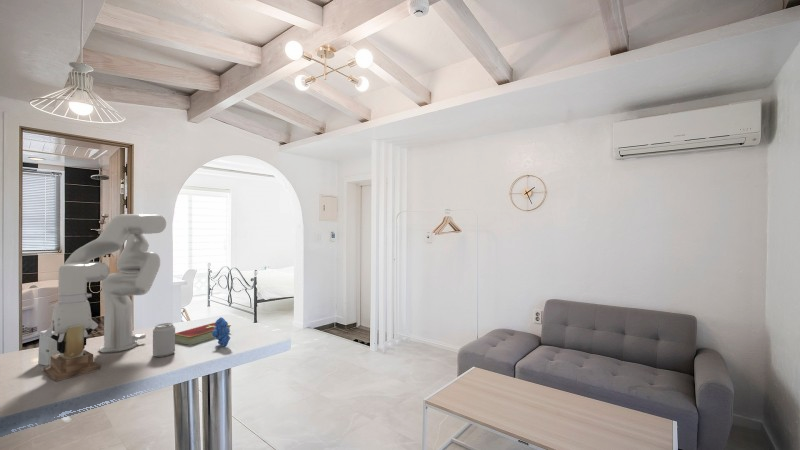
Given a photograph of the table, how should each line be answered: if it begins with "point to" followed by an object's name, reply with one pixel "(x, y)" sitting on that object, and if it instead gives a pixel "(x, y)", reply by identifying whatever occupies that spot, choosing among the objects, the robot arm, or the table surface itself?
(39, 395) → the table surface
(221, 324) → the grapes
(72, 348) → the skincare box
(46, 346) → the skincare box
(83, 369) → the slotted stand
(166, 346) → the can
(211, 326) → the hardcover book
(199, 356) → the table surface
